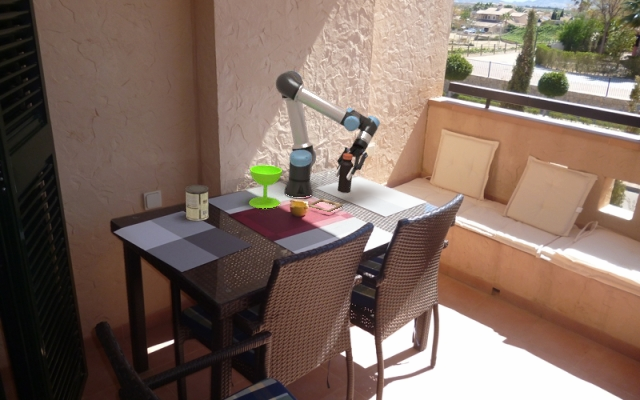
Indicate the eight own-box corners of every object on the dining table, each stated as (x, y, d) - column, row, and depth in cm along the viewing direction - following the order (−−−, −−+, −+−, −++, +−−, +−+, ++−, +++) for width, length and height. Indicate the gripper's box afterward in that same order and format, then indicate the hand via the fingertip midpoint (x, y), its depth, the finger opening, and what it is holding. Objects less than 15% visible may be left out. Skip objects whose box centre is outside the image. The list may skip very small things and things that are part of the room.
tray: (307, 209, 258) (307, 204, 258) (321, 202, 269) (321, 198, 268) (328, 215, 252) (329, 211, 251) (342, 209, 262) (342, 204, 262)
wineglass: (278, 210, 254) (280, 175, 248) (246, 207, 254) (247, 173, 248) (281, 199, 269) (283, 166, 263) (251, 197, 269) (252, 164, 263)
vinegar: (335, 189, 272) (339, 152, 266) (347, 188, 275) (351, 152, 268) (340, 193, 267) (344, 156, 260) (352, 192, 269) (356, 156, 262)
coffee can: (190, 211, 244) (189, 183, 239) (211, 214, 243) (211, 185, 238) (182, 219, 234) (182, 190, 229) (204, 222, 233) (204, 192, 229)
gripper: (379, 150, 270) (359, 185, 263) (348, 142, 280) (329, 176, 273) (375, 141, 264) (355, 177, 257) (344, 134, 274) (324, 168, 267)
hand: (342, 177), depth 265 cm, fingers closed on vinegar, 6 cm apart
